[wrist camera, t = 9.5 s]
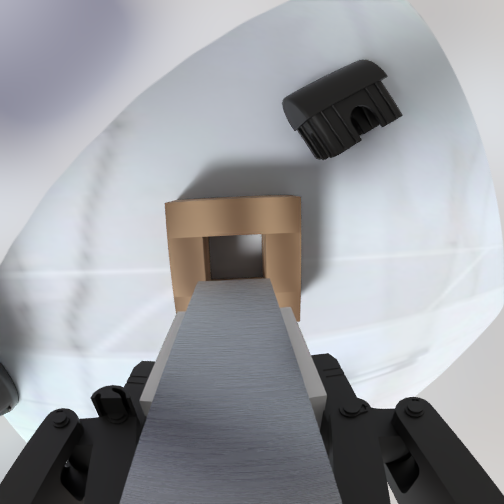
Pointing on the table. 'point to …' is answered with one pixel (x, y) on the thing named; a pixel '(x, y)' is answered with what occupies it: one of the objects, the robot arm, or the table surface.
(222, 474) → the square peg
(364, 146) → the table surface
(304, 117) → the end cap
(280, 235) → the socket block
